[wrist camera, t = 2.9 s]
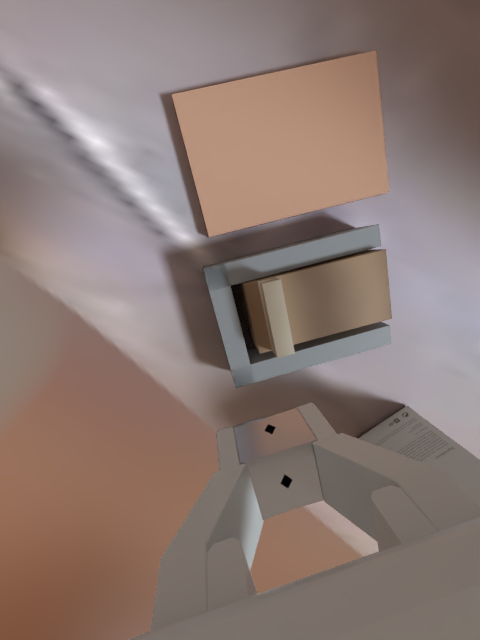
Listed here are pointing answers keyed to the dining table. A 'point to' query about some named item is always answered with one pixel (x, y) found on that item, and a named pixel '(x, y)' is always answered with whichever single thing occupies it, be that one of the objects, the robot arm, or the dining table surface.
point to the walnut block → (316, 301)
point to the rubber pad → (285, 142)
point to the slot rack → (223, 275)
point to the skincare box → (428, 448)
